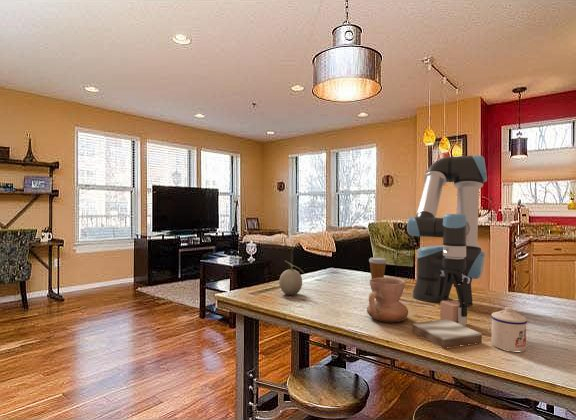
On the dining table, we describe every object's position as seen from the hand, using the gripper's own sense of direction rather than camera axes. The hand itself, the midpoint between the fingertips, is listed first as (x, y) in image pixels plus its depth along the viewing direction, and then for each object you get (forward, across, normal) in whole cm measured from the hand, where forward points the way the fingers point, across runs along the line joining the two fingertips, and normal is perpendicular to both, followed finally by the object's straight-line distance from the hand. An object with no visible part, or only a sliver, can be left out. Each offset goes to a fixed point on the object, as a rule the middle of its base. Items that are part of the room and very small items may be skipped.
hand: (453, 321), depth 126 cm
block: (0, 0, 0) cm, 0 cm away
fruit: (0, -53, -43) cm, 68 cm away
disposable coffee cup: (+1, -69, +12) cm, 70 cm away
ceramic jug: (0, -10, -21) cm, 23 cm away
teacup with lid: (+1, +22, +1) cm, 22 cm away
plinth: (0, +11, -13) cm, 17 cm away
